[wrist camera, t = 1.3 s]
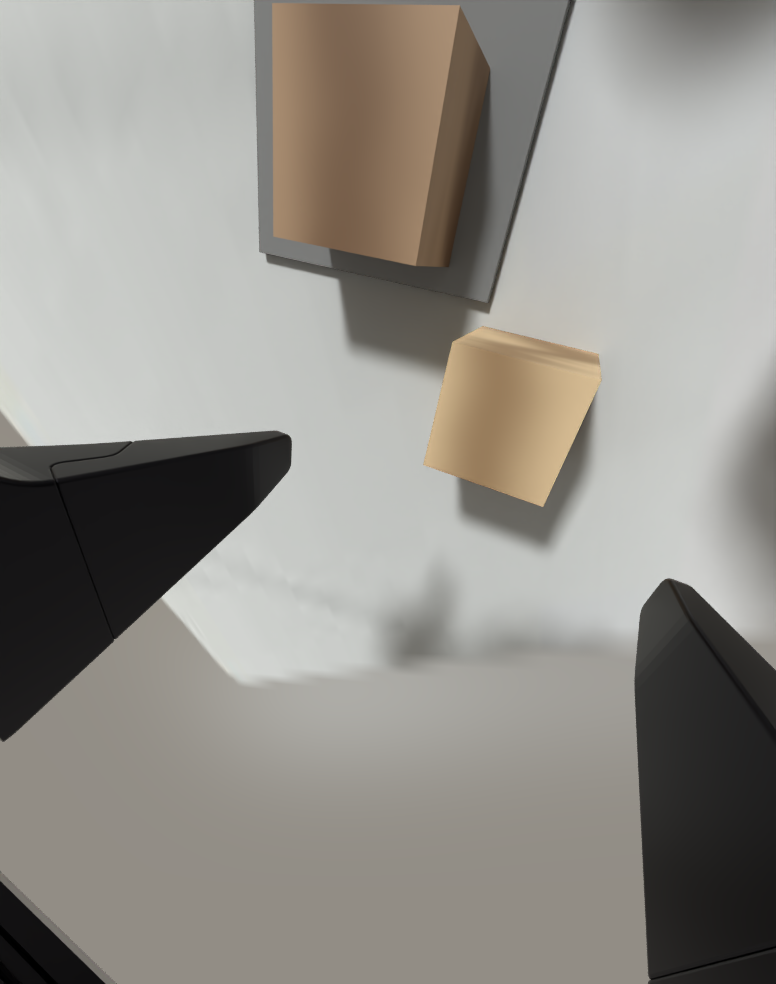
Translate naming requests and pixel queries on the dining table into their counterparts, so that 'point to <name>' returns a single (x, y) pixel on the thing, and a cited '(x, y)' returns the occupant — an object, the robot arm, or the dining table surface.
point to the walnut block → (374, 126)
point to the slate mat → (496, 155)
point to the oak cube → (510, 411)
